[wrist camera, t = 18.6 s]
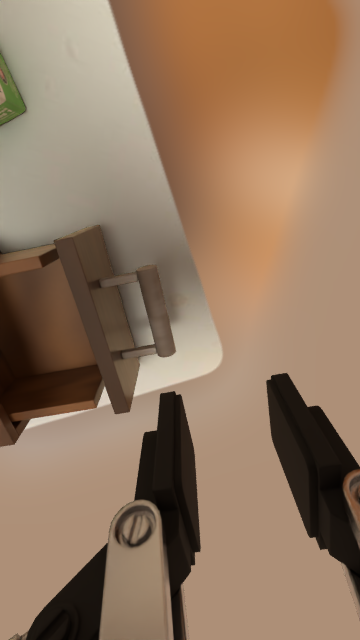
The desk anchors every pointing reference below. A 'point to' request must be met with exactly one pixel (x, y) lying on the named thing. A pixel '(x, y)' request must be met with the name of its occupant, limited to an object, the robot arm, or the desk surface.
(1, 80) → the ink box
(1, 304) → the drawer
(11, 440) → the cabinet
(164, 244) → the desk surface
